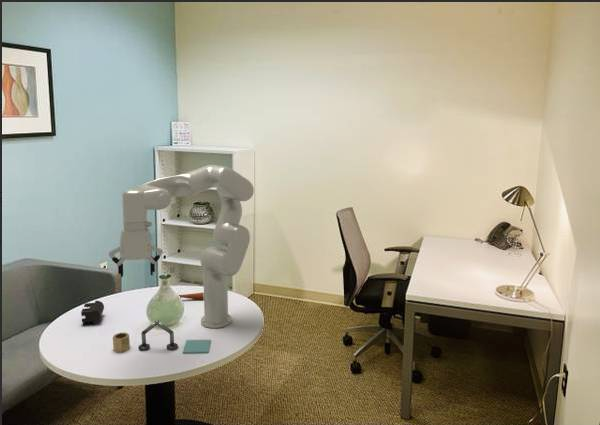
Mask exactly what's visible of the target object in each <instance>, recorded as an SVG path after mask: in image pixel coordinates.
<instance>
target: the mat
mask: <svg viewBox="0 0 600 425" xmlns="http://www.w3.org/2000/svg"><path fill="white" fill-rule="evenodd" d="M211 342H212V340H211V339H186V341H185V344H184V347H183V350H182V354H183V355H184V354H185V355H186V354H189V355H190V354H209V351H210V346H211Z"/></svg>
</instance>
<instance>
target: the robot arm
mask: <svg viewBox="0 0 600 425" xmlns="http://www.w3.org/2000/svg"><path fill="white" fill-rule="evenodd" d="M213 188H216V191H217V192H216V193H217V194H218V196H219V199H220V203H221V209H220V213H219V216H218V218H217V221H216V224H215V227H214V230H213V234H212V239H213V241H214V243H216V244H219V245H221V246H224V247H227V248H226V249H225V248H222V247H218V246H208V247H206V248H205V249H204V250H202V252H201V255H200V259H199V260H200V267H201V271H202V277H203V293H204V299H203V304H204V306H203V307H204V315H203V316H202V317H201V319H200V324H201V325H202V327H205V328H209V329H219V328H224V327H227V326H229V325H230V324H231V323H233V322H232V321H233V317H232V316H231V315H230V314H229V299H228V298H229V296H228V294H229V292H228V291H229V290H228V287H229V284H228V283H229V282H228V277H233V276H235V275H237V274H238V273H239V272H240V269H241V267H242V265H243V262H244V259H245V257H246V253H247V252H248V251H247V250H248V248H249V244H250V241H251V240H250V239H251V235H250V231H249V229H248V228H247V227H245V226H244V225H241V224H240V222H241V219H242V214H243V206H242V202H247V201H249V200H251V199H252V198H253V195H254V190H255V189H254V186H253V184H252V182H251V180H249V179H247V178H246V177H244V176H243V175H242V174H240V173H239V172H237V171H235V170H234V169H233V168H232V167H231V168H230V167H229V166H225V165H224V166H223V165H217V164H207V165H204V166H201V167H199V168H196V169H193V170H190V171H187V172H185V173H181V174H176V175H172V176H171V175H170V176H167V177H166V176H165V177H160V178H157V179H153V180H151V181H148V182H145V183H143V184H140V185H139V186H137V187H136V188H129V189H125V190H124V191H123V192H122V217H123V218H122V220H123V228H122V229H121V231H120V237H119V238H120V240H119V241H120V242H119V246H118V247H117V248H114V249H112V250H110V251H109V252H108V255H109V258H111V260H112V262H114V263H115V264H116V265H117V267H118V268H117V270H118V272H117V273H118V275H120V278H122V277H124V263H123V262H124V261H130V260H131V261H135V260H136V261H137V260H148V261H149V263H150V264H149V265H150V266H149V267H150V268H149V269H150V276H153V275H154V273H155V272H156V270H155V269H156V268H155V265H156V262H157V261H159V260H160V259H161V256H162V254H163V252H164V250H163V249H162V248H160V247H157V246H154V245H153V243H152V235H151V234H152V233H151V230H150V228H149V227H152V222H151V221H148V212H147V211H148V210H151V211H152V210H153V211H160V210H165V209H167V208H168V207H169V205H171V202H172V197H173V198H175V197H176V198H177V197H178V198H185V197H192V196H195V195H197V194H199V193H202V192H205V191H206V190H209V189H213ZM153 251H154V252H156V253H157V254H156V255H155V256H153V255H152V254H153ZM117 253H119V255H120V256H119V258H118V257H116V255H115V254H117Z"/></svg>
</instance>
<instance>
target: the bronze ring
mask: <svg viewBox="0 0 600 425" xmlns="http://www.w3.org/2000/svg"><path fill="white" fill-rule="evenodd" d="M112 347H113V351H114V352H115V353H124V352H127V351H128V350H130V348H131V343H130V334H129V333H128V332H118V333H115V334H113V337H112Z"/></svg>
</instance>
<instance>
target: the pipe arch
mask: <svg viewBox="0 0 600 425" xmlns="http://www.w3.org/2000/svg"><path fill="white" fill-rule="evenodd" d="M157 326H158V327H159V328H161V329H162V330H163V331H165V332H167V333H168V334H169V343H168V344H166V351H167V350H168V351H175V350H177V349H178V348H179V344H178V343H176V342H175V336H174V331H173V330H172V329H171V328H169V327H168V326H166V325H165V324H163V323H162V322H161V321H160V320H158V319H156V320H154V322H153V323H151V324H150V325H149V326H147V327H146V328H145V329H143V330H142V331H141V334H140V335H141V344H139V345H138V346H137V348H138V351H140V352H145V351H148V350H150V348H151V344H149V343H147V338H146V337H147V333H149V332H150V331H151V330H153V329H154V328H156V327H157Z"/></svg>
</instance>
